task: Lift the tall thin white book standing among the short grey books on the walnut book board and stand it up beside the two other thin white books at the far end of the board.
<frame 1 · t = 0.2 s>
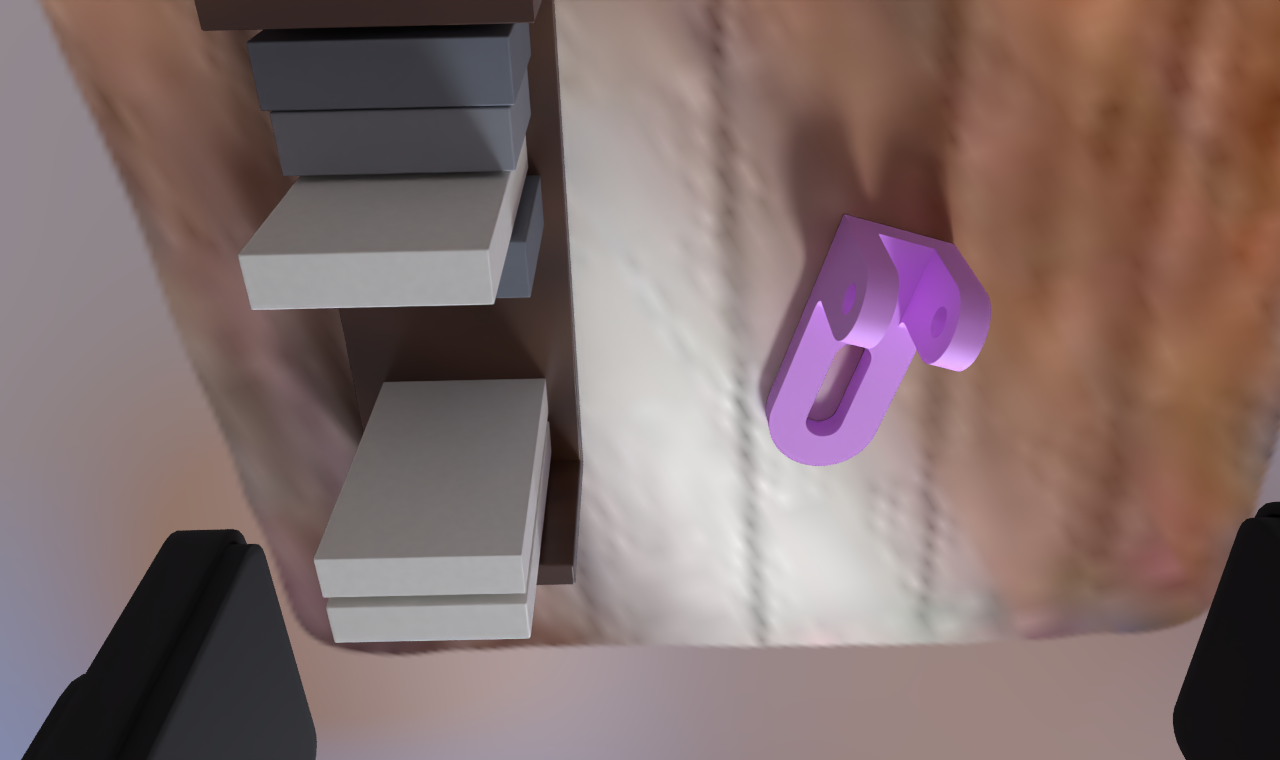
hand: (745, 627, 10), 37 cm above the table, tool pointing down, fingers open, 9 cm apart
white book: (434, 148, 44), point 1 cm above the table, touching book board
grey books: (428, 102, 43), resting on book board
white books: (469, 417, 51), resting on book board
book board: (451, 243, 47), on the table
bracket: (846, 343, 51), on the table
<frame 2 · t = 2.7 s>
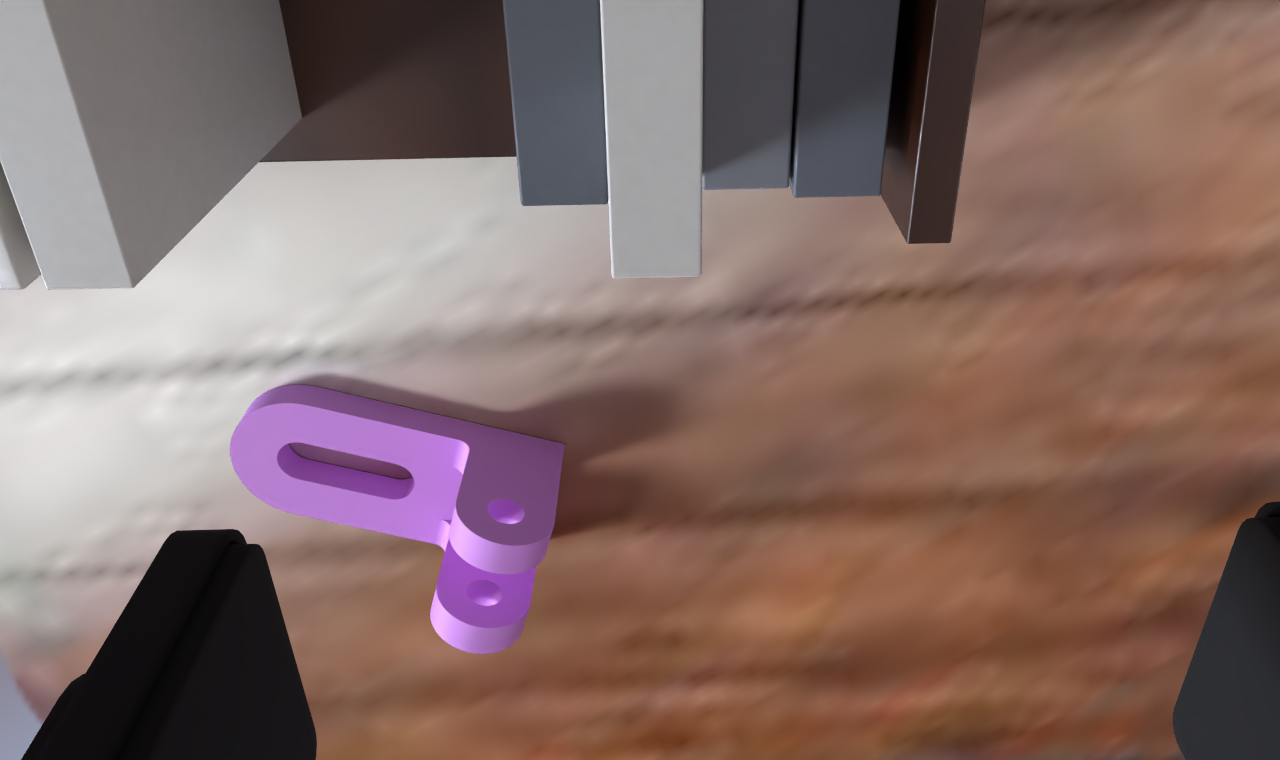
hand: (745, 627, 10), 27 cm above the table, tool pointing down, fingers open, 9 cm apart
bracket: (399, 458, 43), on the table
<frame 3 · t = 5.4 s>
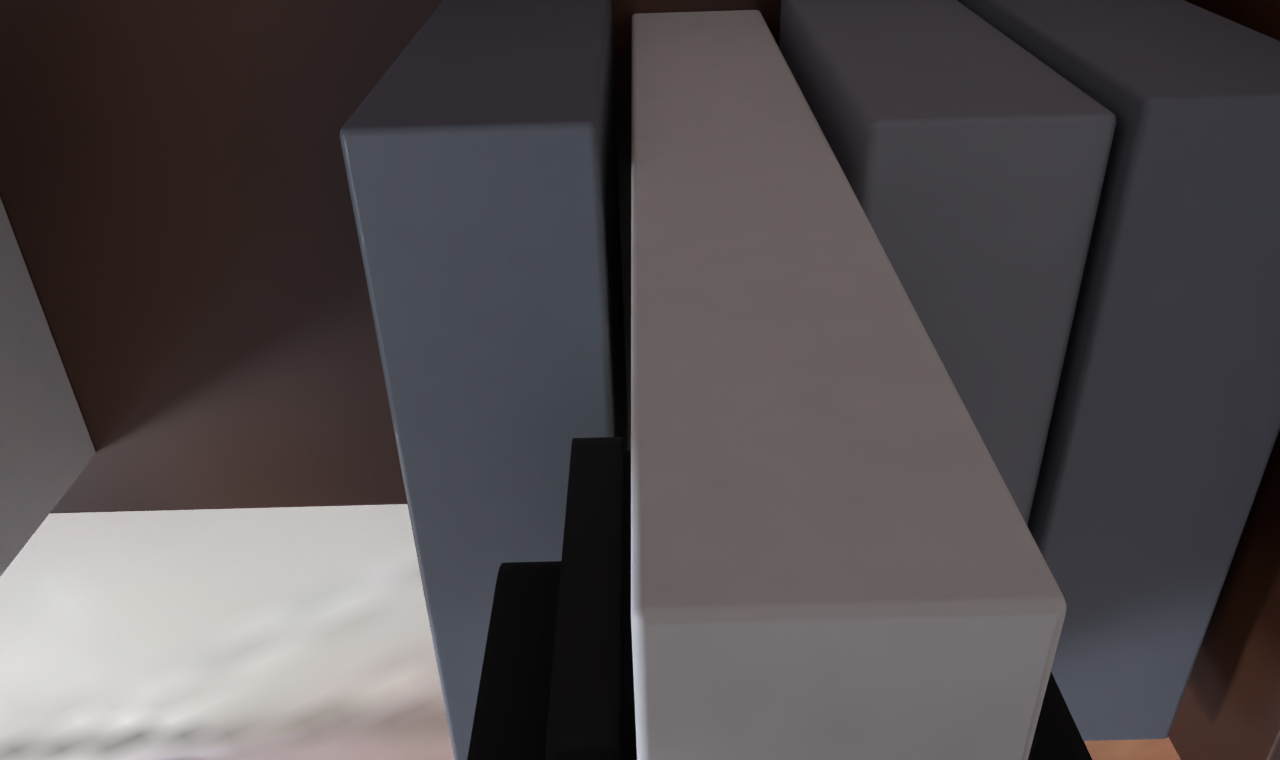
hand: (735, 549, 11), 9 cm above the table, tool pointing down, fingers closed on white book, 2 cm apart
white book: (695, 248, 18), point 1 cm above the table, touching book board, gripper
grey books: (809, 245, 18), resting on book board
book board: (422, 230, 19), on the table
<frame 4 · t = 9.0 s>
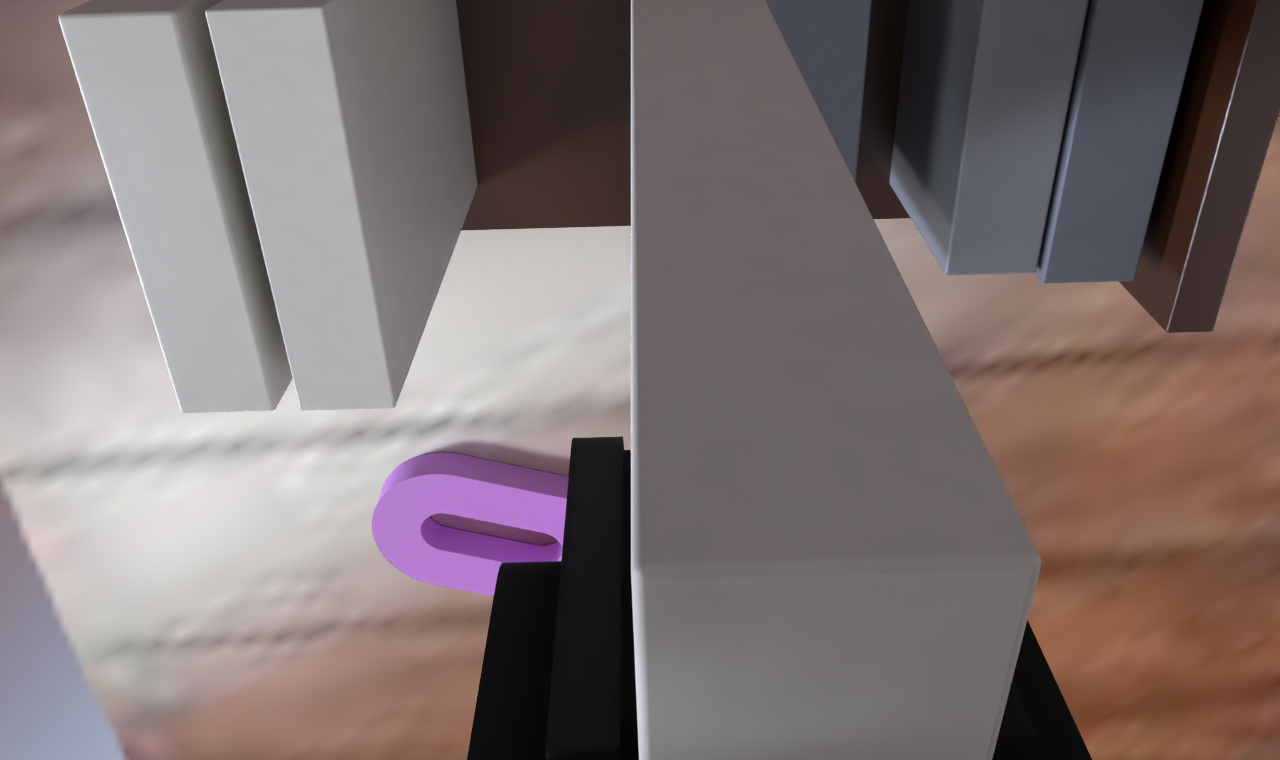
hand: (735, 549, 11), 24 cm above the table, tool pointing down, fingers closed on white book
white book: (694, 223, 18), point 15 cm above the table, touching gripper
grey books: (926, 44, 30), resting on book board
white books: (387, 60, 30), resting on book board
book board: (688, 42, 31), on the table
bracket: (541, 524, 41), on the table
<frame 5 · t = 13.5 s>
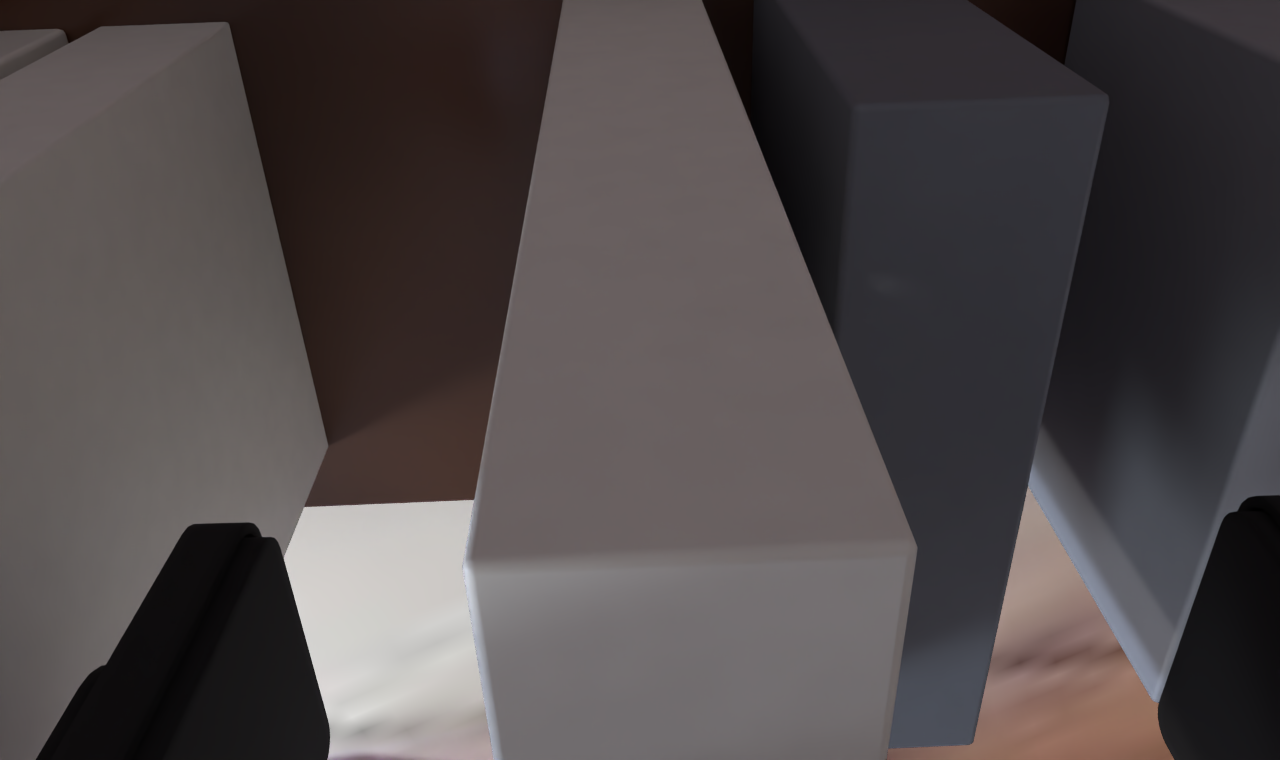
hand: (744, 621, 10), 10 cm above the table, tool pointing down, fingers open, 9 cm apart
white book: (638, 227, 18), point 1 cm above the table, touching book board
grey books: (1071, 227, 18), resting on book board
white books: (155, 264, 18), resting on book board
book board: (668, 216, 19), on the table
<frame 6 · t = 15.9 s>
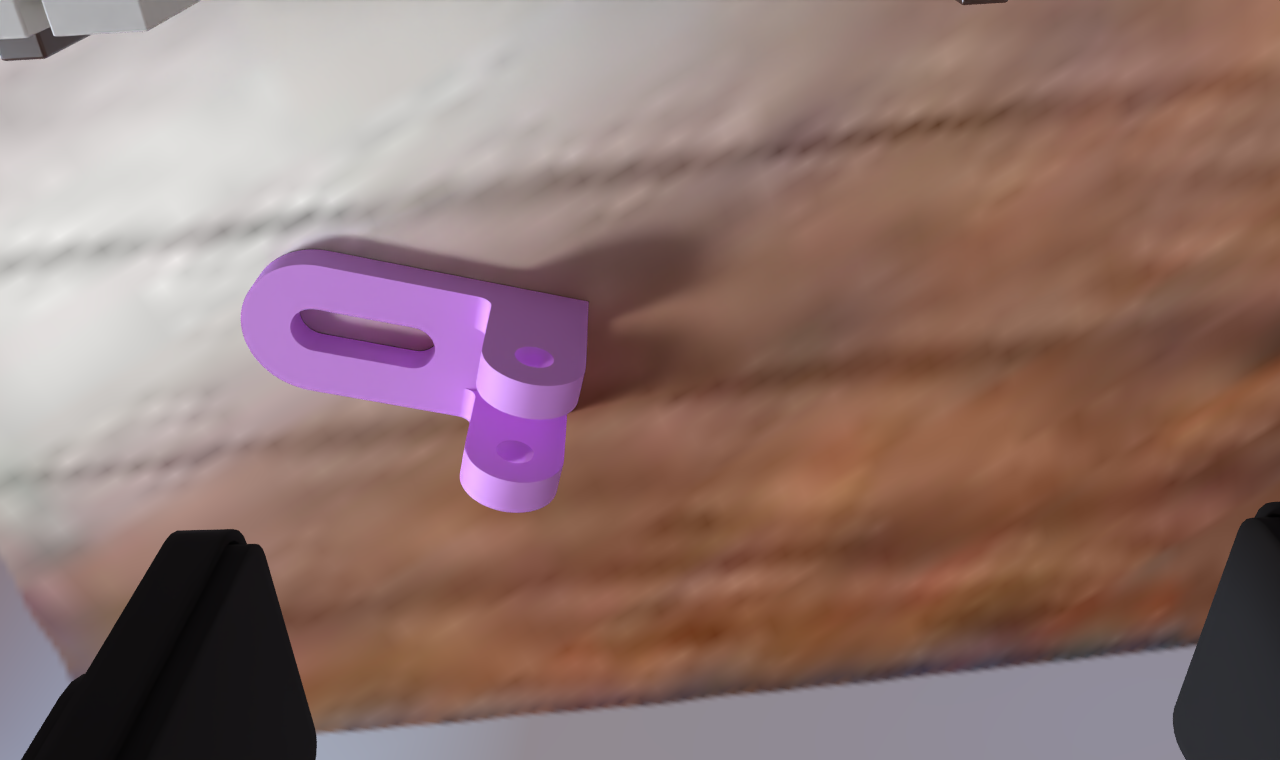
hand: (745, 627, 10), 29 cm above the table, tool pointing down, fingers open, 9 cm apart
bracket: (417, 328, 41), on the table
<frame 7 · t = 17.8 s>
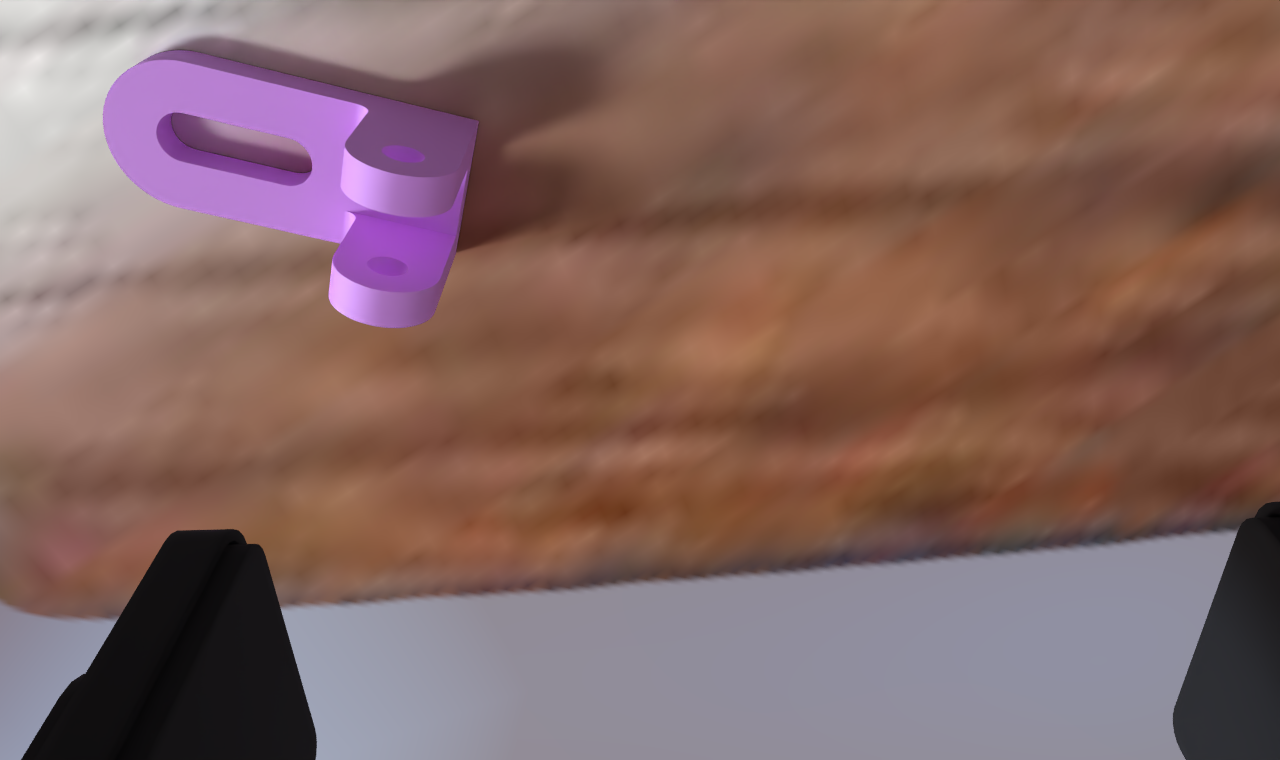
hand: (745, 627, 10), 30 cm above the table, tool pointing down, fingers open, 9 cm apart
bracket: (298, 148, 39), on the table
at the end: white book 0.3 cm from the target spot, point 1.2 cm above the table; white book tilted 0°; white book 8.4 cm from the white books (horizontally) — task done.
